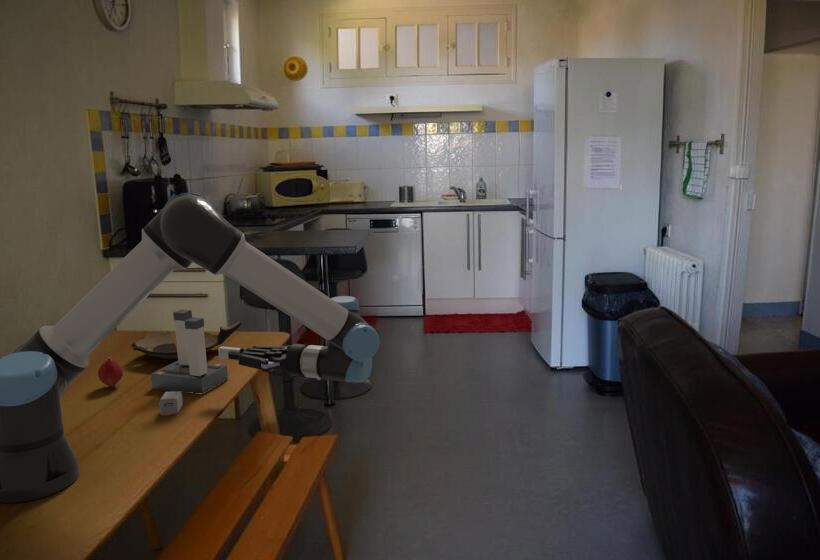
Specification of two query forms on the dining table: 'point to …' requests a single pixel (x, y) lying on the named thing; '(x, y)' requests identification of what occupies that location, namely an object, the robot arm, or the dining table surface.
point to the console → (188, 378)
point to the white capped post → (182, 335)
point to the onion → (110, 372)
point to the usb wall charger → (171, 403)
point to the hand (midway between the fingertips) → (220, 352)
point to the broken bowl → (166, 347)
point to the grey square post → (196, 346)
